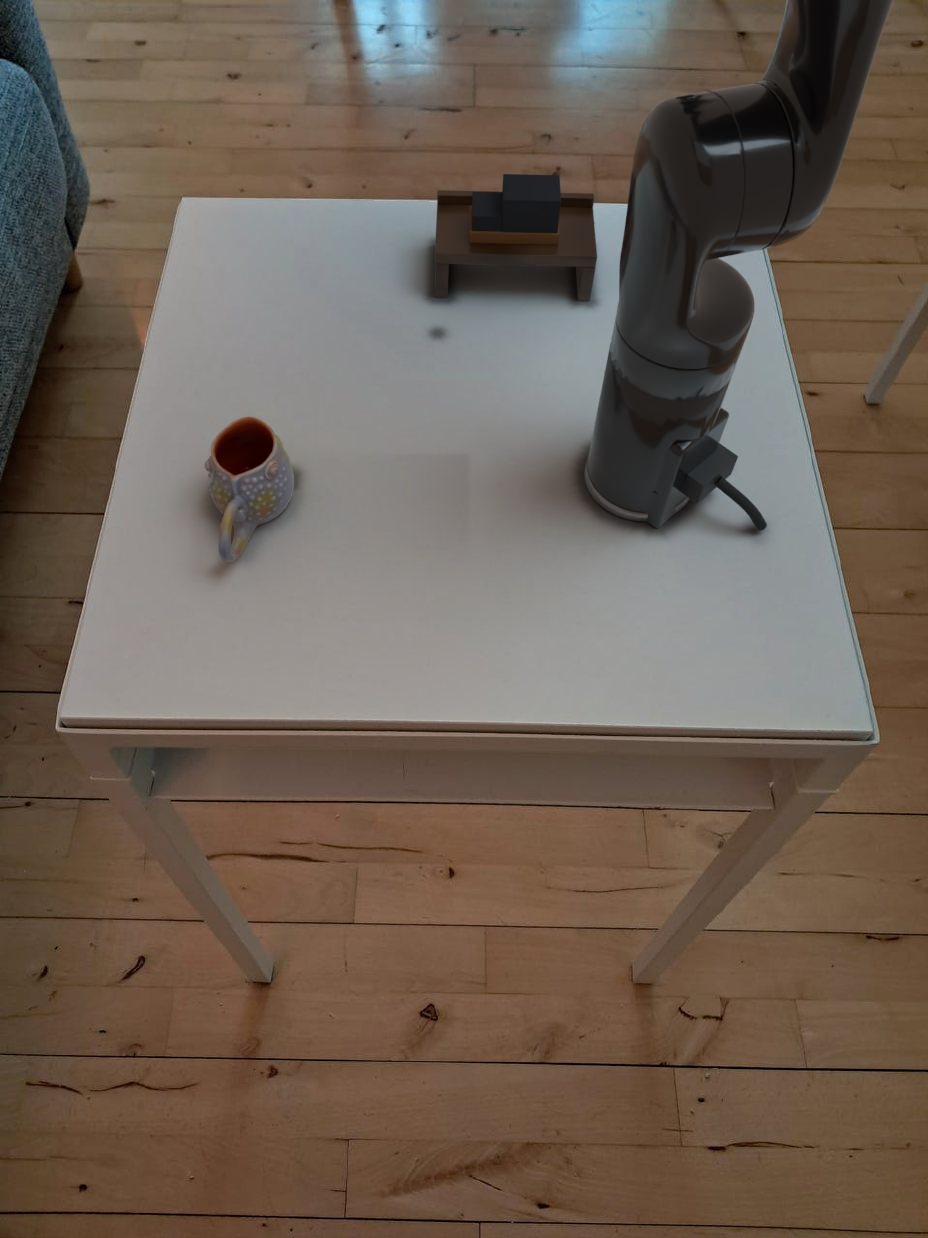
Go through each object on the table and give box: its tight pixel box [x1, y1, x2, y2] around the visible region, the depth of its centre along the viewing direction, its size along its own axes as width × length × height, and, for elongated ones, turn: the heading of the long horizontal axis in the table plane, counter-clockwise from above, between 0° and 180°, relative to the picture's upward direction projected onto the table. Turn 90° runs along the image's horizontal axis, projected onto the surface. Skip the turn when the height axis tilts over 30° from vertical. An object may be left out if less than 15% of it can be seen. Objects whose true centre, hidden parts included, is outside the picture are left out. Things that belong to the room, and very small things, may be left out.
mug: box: [204, 415, 295, 563], centre depth 75 cm, size 12×7×7 cm, turn 170°
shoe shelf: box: [434, 189, 598, 302], centre depth 92 cm, size 15×8×6 cm, turn 89°
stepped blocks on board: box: [469, 173, 562, 245], centre depth 88 cm, size 8×4×5 cm, turn 89°
